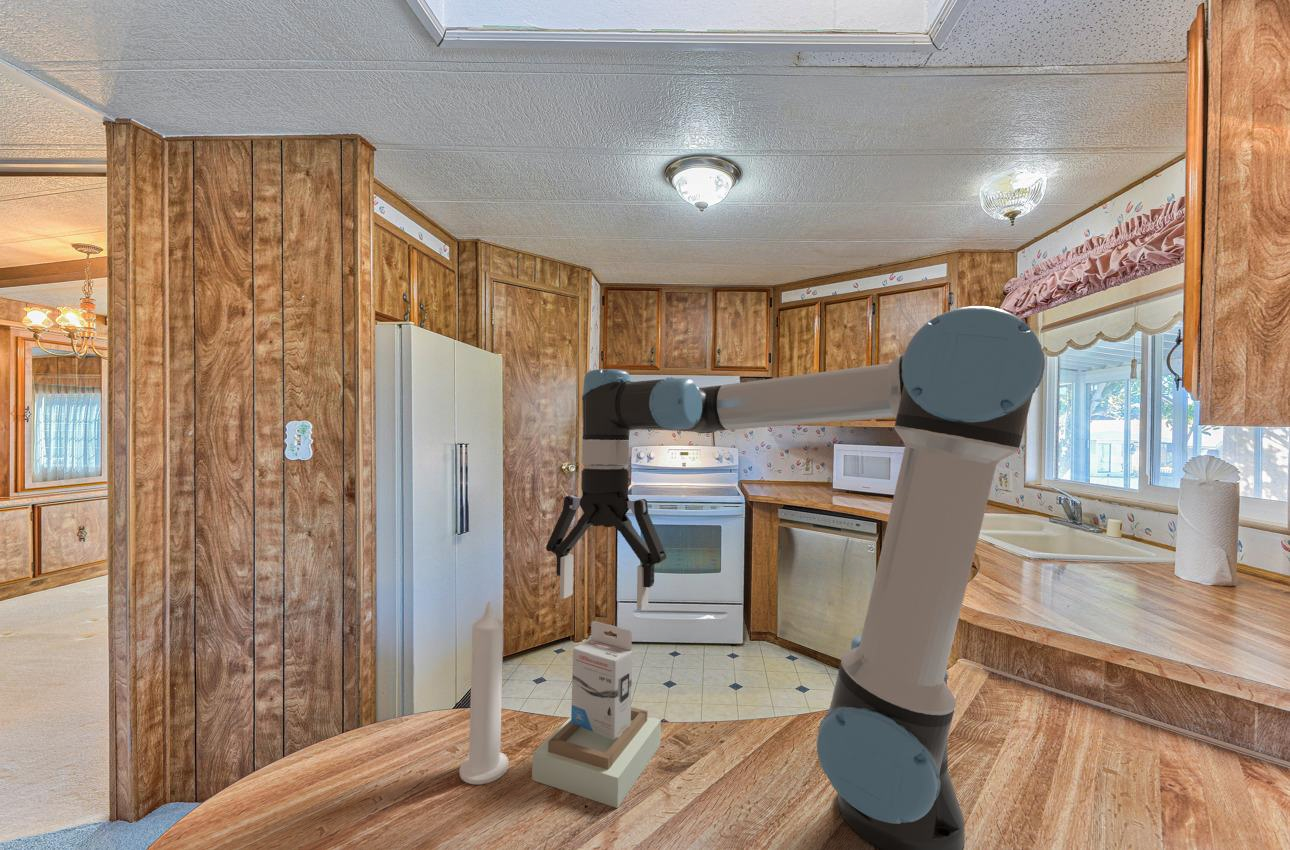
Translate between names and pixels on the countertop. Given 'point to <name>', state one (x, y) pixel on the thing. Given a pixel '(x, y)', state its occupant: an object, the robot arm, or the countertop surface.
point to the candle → (485, 703)
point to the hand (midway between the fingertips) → (603, 602)
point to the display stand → (597, 759)
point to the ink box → (603, 681)
